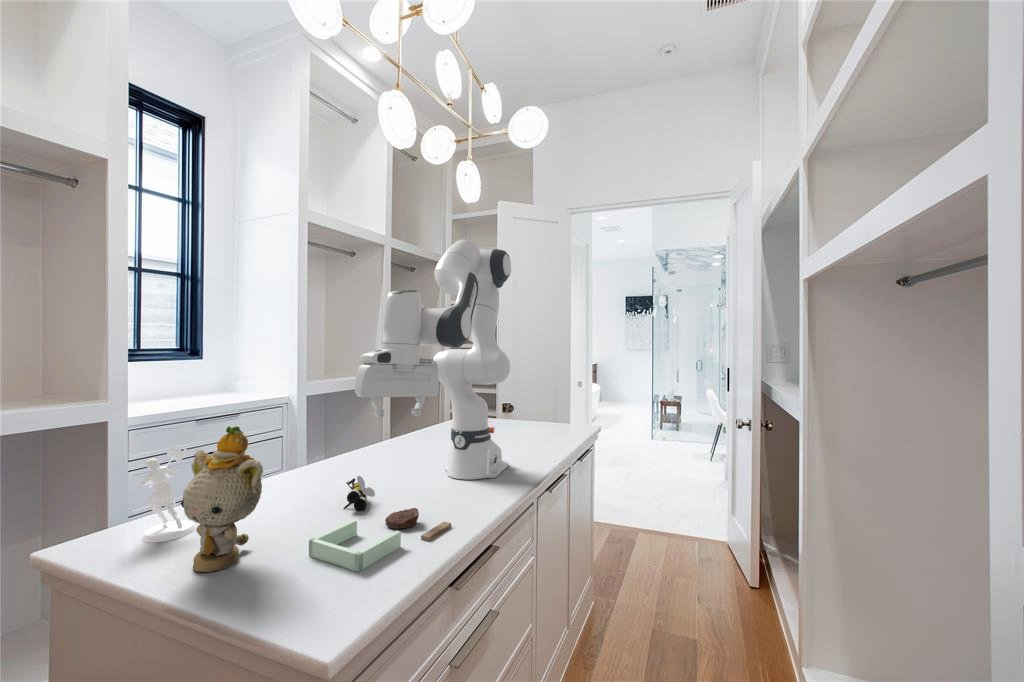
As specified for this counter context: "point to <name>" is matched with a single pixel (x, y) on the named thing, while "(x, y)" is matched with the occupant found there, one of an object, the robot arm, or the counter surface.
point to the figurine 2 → (222, 499)
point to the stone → (402, 518)
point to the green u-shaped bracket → (348, 558)
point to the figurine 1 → (164, 501)
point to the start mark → (435, 531)
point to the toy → (358, 494)
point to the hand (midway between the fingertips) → (397, 416)
